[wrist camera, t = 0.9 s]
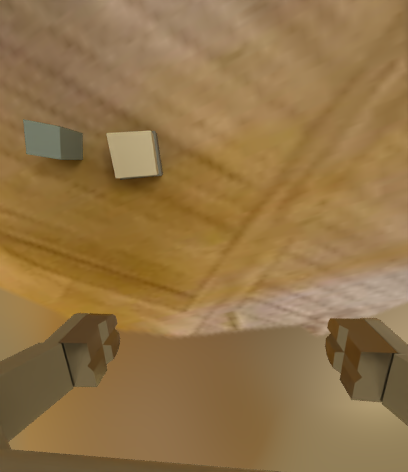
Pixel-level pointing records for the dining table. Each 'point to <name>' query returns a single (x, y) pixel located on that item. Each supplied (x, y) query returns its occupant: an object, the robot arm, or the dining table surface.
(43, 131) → the blue pillar
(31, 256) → the dining table surface
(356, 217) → the dining table surface
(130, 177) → the tower base
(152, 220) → the dining table surface
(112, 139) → the tower top
